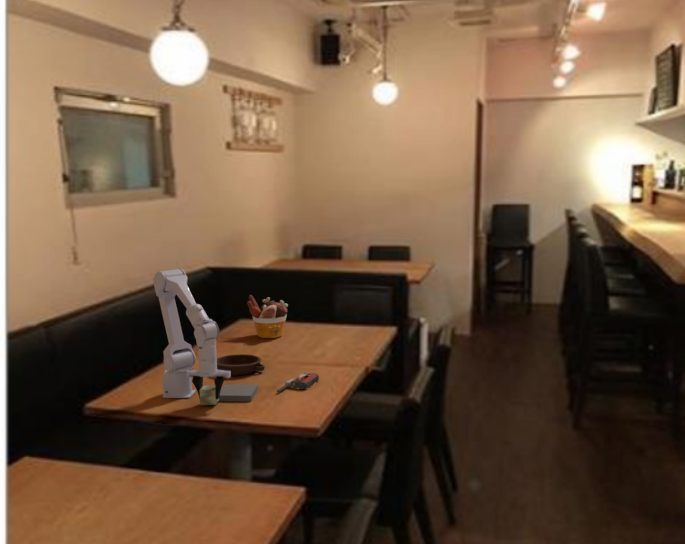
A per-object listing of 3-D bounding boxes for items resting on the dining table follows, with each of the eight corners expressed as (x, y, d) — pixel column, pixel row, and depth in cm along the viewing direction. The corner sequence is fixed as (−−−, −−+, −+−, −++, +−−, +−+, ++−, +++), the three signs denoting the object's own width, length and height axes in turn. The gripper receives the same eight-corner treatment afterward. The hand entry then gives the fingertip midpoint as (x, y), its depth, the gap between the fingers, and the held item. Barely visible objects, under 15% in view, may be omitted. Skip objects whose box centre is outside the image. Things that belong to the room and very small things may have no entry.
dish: (255, 380, 250) (255, 367, 249) (202, 376, 256) (201, 364, 255) (272, 367, 267) (272, 355, 266) (221, 364, 272) (221, 352, 272)
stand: (216, 401, 227) (215, 395, 226) (225, 389, 238) (225, 384, 238) (250, 401, 226) (250, 395, 225) (258, 390, 237) (258, 384, 237)
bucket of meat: (293, 332, 324) (292, 292, 322) (284, 341, 308) (283, 298, 306) (254, 331, 328) (252, 291, 325) (243, 339, 312) (241, 298, 309)
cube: (200, 404, 220) (199, 390, 220) (204, 399, 225) (203, 385, 225) (215, 404, 220) (214, 390, 219) (219, 399, 225) (218, 385, 224)
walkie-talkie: (300, 378, 251) (274, 394, 233) (299, 367, 251) (274, 382, 233) (321, 381, 248) (297, 397, 230) (321, 369, 248) (297, 385, 229)
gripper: (182, 361, 217) (184, 401, 219) (226, 362, 216) (227, 402, 218) (189, 355, 224) (191, 394, 226) (231, 356, 223) (233, 395, 225)
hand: (209, 398), depth 222 cm, fingers closed on cube, 5 cm apart
